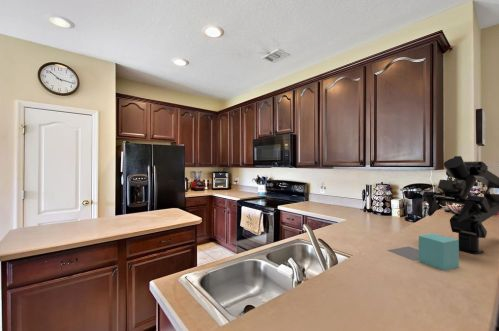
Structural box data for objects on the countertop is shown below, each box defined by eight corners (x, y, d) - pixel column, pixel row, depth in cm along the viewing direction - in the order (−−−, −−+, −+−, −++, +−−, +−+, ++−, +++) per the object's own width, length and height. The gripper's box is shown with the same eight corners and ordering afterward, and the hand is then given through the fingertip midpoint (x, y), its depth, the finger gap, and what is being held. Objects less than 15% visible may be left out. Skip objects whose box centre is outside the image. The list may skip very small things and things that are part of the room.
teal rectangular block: (433, 259, 79) (433, 233, 79) (458, 268, 72) (458, 239, 72) (418, 262, 76) (418, 235, 76) (444, 271, 70) (443, 242, 70)
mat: (408, 247, 90) (408, 246, 90) (436, 256, 81) (436, 255, 81) (386, 251, 86) (386, 250, 86) (413, 261, 77) (413, 260, 77)
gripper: (425, 171, 93) (406, 199, 89) (485, 172, 75) (465, 208, 71) (437, 189, 96) (419, 218, 92) (498, 195, 78) (479, 230, 74)
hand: (442, 218), depth 82 cm, fingers open, 9 cm apart
